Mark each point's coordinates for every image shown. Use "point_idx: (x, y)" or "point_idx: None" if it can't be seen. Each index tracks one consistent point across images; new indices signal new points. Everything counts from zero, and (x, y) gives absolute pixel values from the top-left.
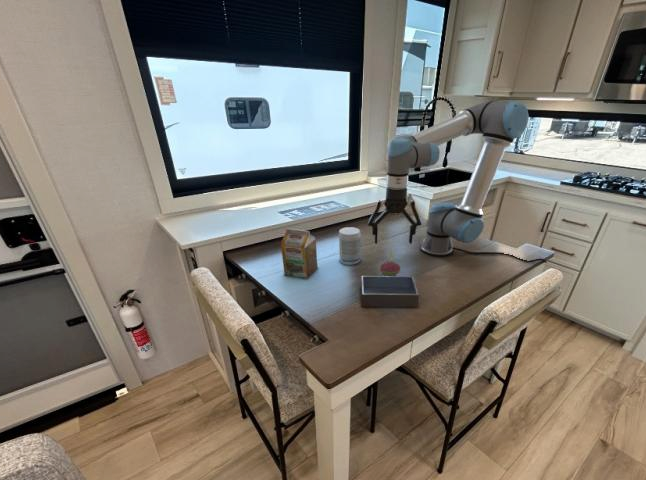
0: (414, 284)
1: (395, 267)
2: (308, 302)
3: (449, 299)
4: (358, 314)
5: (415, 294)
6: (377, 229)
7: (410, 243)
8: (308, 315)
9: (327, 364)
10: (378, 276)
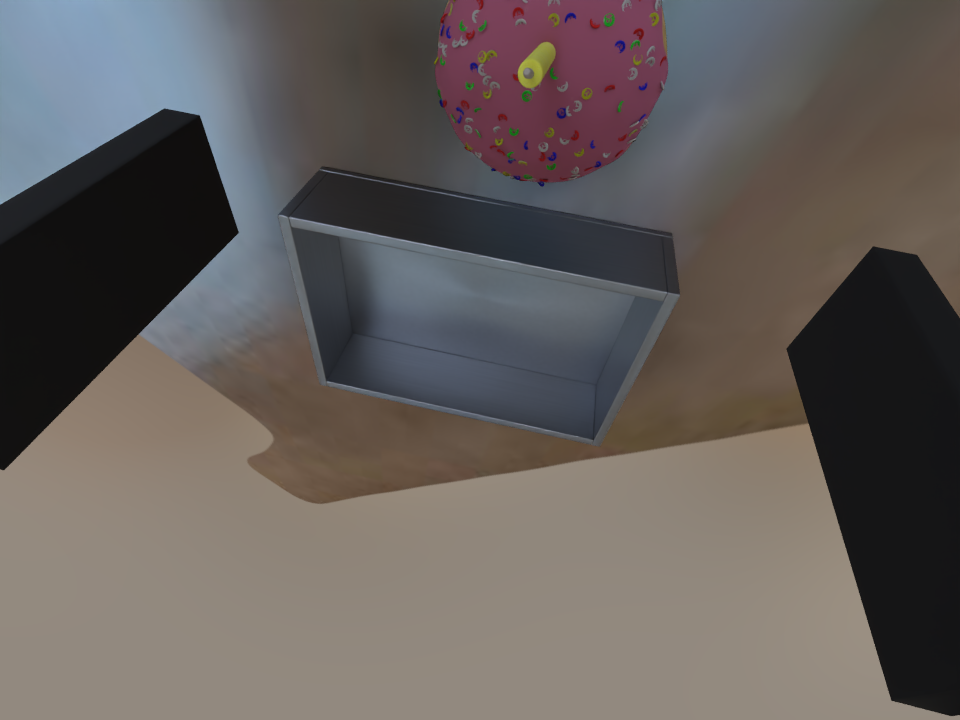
0: (627, 378)
1: (576, 162)
2: None
3: None
4: None
5: (583, 442)
6: (35, 432)
7: (797, 354)
8: (154, 333)
9: (294, 480)
10: (404, 248)
